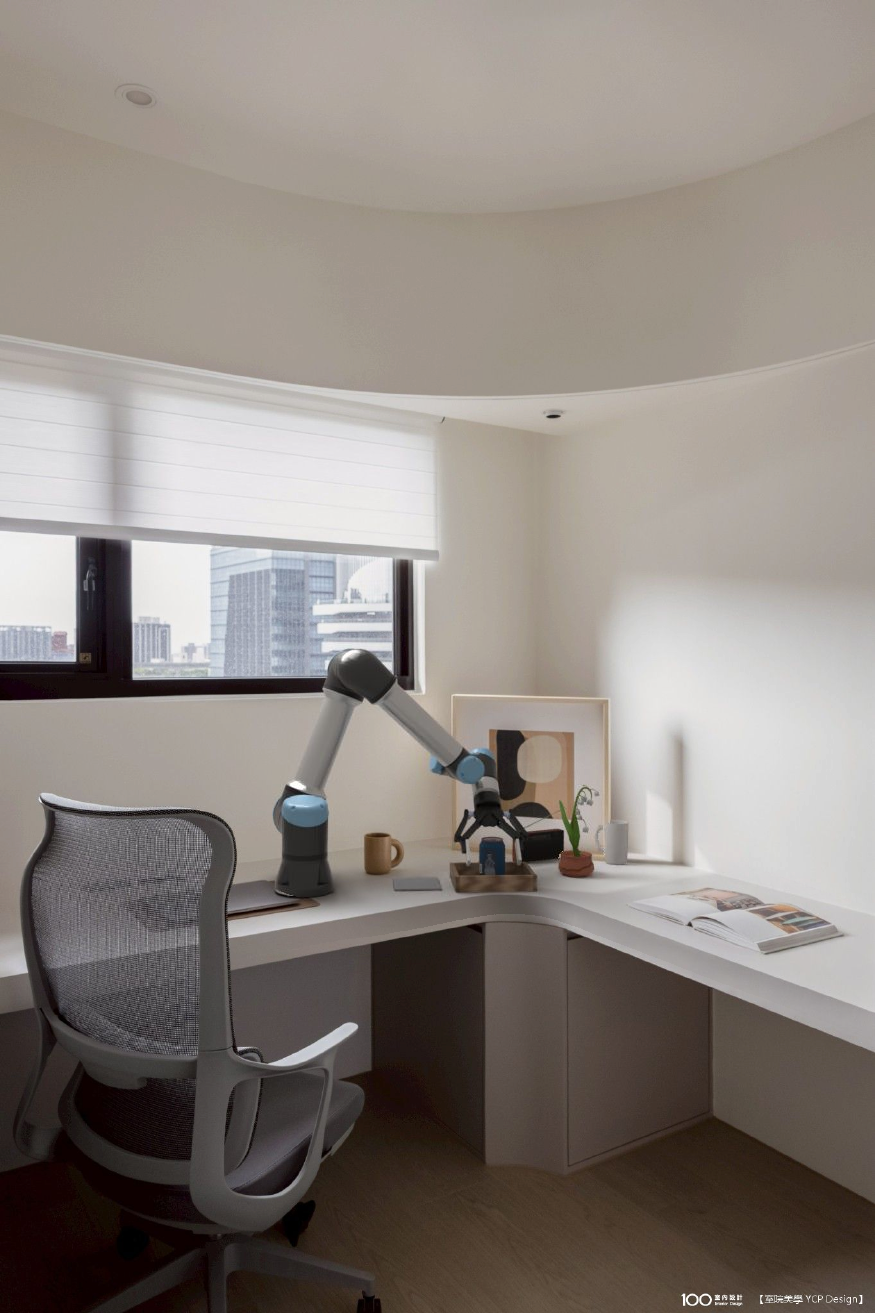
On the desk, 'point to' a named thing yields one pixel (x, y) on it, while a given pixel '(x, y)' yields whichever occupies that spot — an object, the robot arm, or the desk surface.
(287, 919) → the desk surface
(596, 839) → the mug
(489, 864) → the soda can
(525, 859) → the radio
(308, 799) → the robot arm
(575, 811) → the potted flower
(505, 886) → the walnut crate
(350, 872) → the desk surface
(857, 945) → the desk surface
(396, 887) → the grey mat
